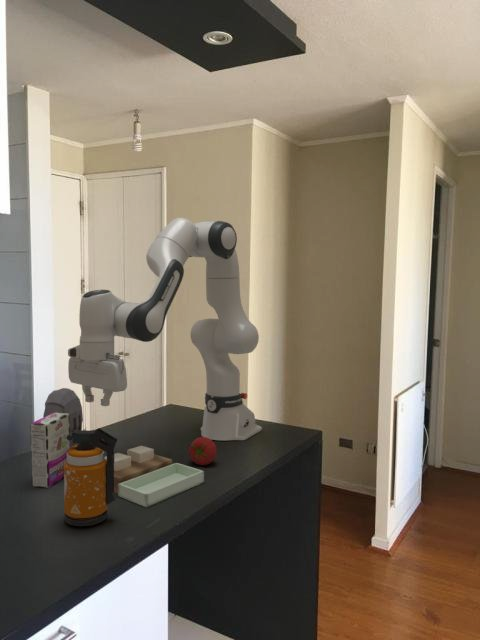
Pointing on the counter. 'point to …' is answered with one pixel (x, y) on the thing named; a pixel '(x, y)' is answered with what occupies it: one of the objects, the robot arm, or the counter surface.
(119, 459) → the tile
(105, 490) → the canister
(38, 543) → the counter surface
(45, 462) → the candy bar box
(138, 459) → the tile
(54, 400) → the small grey backpack
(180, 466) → the tray
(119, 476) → the board
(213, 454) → the tomato
